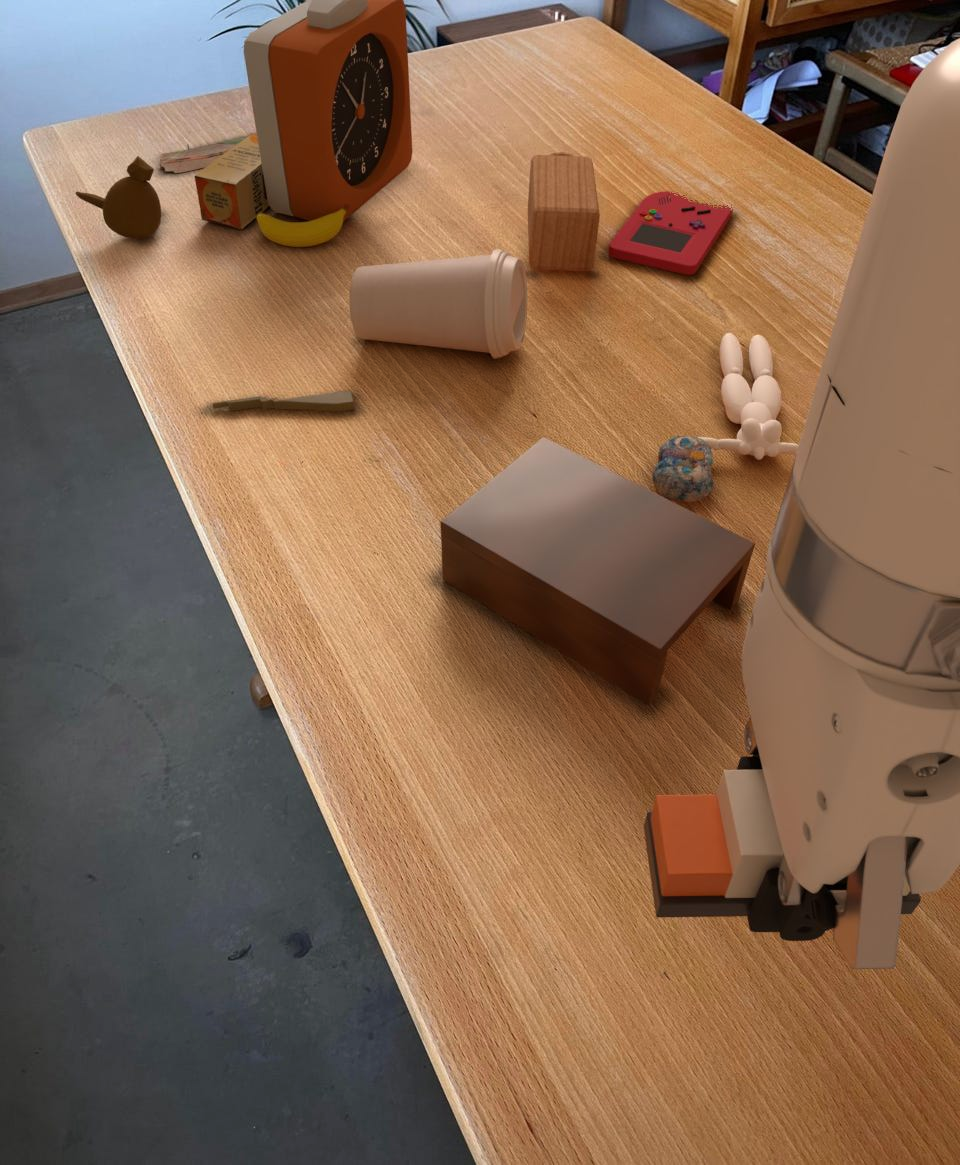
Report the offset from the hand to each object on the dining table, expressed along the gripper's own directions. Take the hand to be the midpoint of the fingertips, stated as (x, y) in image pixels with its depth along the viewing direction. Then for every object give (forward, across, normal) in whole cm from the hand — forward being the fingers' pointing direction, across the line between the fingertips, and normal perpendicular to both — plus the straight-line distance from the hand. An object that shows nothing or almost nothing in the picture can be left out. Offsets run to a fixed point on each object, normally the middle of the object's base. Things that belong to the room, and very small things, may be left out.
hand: (775, 864), depth 40 cm
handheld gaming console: (+16, +89, -13) cm, 92 cm away
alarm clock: (+17, +93, +26) cm, 98 cm away
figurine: (+12, +81, +47) cm, 94 cm away
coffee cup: (+13, +64, +22) cm, 69 cm away
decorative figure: (+15, +62, -13) cm, 65 cm away
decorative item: (+13, +74, +3) cm, 75 cm away
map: (+17, +104, +40) cm, 113 cm away
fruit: (+16, +79, +30) cm, 86 cm away
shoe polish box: (+14, +96, +34) cm, 103 cm away
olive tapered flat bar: (+16, +52, +28) cm, 62 cm away
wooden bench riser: (+17, +30, +4) cm, 35 cm away
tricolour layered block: (0, 0, 0) cm, 0 cm away
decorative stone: (+17, +42, -5) cm, 46 cm away
